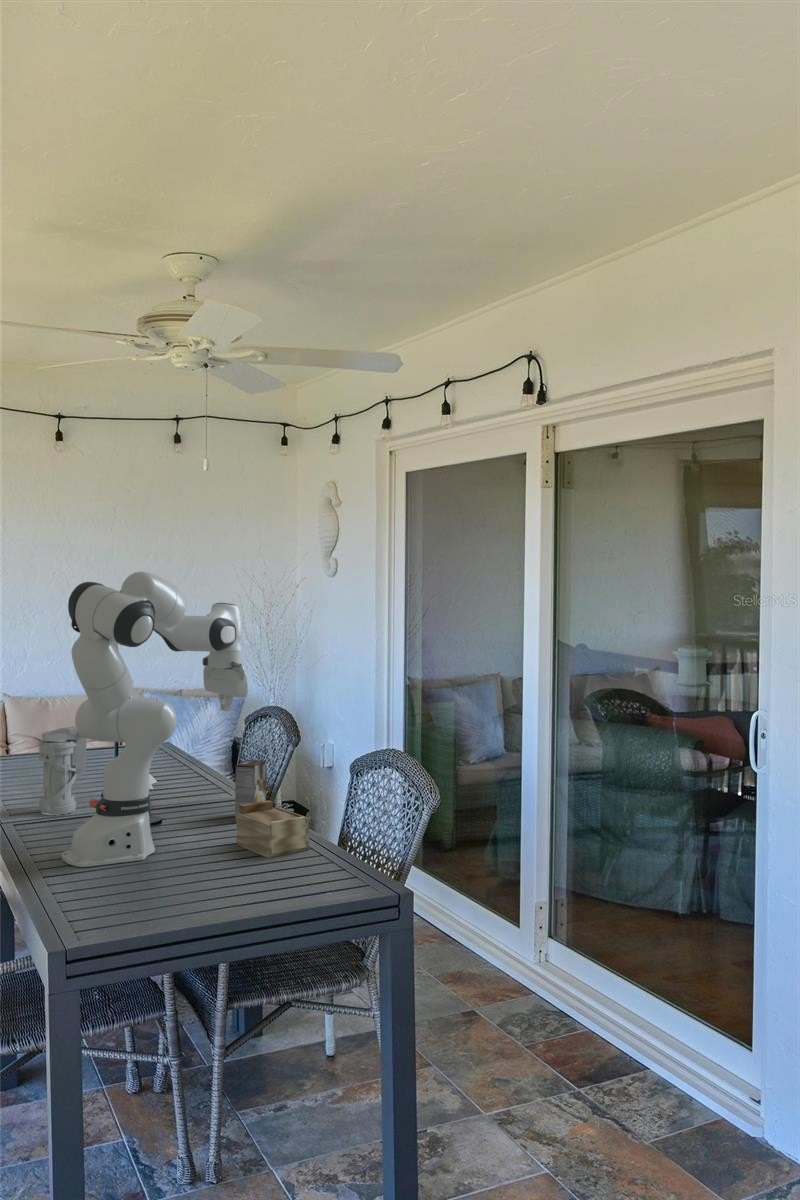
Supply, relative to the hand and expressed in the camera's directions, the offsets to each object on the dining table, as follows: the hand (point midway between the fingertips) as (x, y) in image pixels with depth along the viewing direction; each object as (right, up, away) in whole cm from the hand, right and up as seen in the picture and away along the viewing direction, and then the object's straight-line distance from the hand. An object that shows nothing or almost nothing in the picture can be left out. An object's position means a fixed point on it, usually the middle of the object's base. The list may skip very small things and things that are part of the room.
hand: (225, 710), depth 273 cm
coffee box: (+5, -33, +13) cm, 36 cm away
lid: (+15, -26, -19) cm, 35 cm away
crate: (+16, -33, -20) cm, 42 cm away
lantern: (-52, -32, +19) cm, 64 cm away
